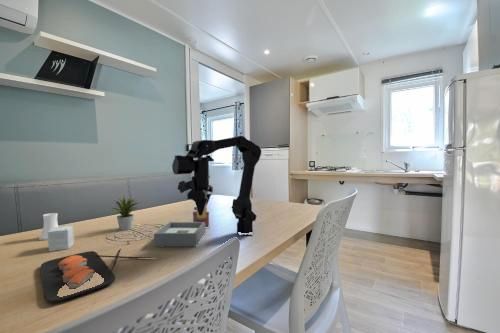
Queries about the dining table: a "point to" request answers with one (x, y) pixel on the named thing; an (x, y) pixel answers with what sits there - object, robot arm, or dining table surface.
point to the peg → (202, 214)
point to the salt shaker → (48, 224)
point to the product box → (60, 238)
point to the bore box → (179, 234)
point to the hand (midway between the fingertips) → (201, 213)
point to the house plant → (125, 213)
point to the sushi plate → (75, 273)
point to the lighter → (201, 218)
